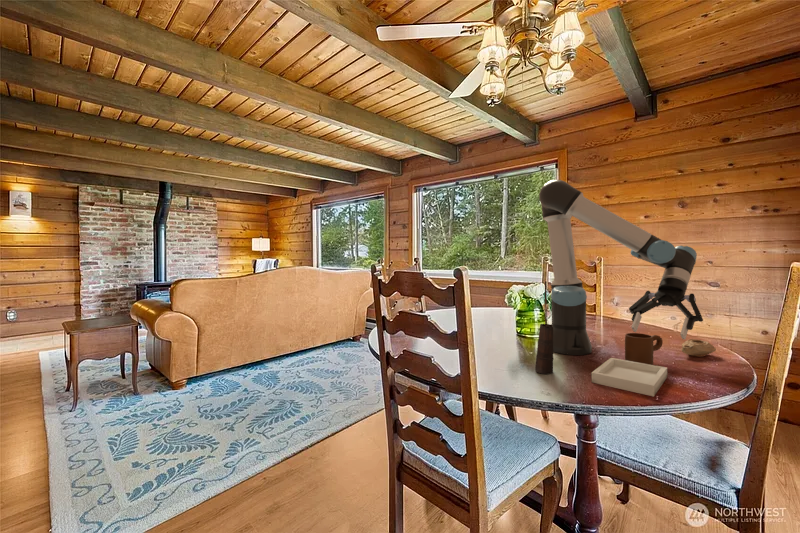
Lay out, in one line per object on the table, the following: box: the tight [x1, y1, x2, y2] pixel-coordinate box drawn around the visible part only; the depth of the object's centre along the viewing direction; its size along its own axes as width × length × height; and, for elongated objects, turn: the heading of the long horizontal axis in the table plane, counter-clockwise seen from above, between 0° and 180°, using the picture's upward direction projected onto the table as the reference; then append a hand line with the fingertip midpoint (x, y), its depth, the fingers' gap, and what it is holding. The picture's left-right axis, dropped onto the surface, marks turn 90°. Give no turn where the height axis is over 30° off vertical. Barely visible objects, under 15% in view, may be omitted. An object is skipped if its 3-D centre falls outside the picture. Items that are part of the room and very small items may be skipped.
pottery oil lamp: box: [680, 338, 717, 358], centre depth 120 cm, size 9×12×7 cm
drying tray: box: [591, 357, 668, 397], centre depth 99 cm, size 14×18×3 cm
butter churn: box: [534, 280, 554, 375], centre depth 106 cm, size 9×10×28 cm
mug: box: [624, 332, 664, 365], centre depth 113 cm, size 12×8×9 cm, turn 97°
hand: (656, 333), depth 114 cm, fingers open, 13 cm apart
